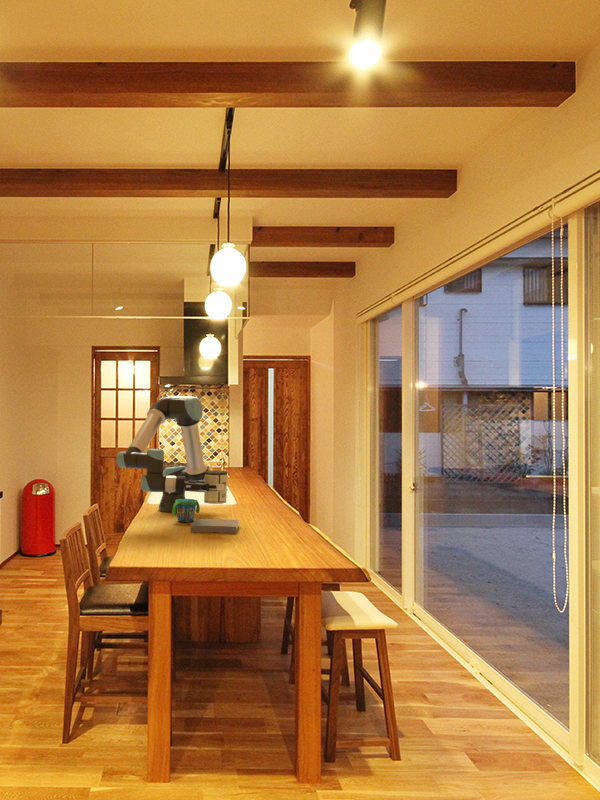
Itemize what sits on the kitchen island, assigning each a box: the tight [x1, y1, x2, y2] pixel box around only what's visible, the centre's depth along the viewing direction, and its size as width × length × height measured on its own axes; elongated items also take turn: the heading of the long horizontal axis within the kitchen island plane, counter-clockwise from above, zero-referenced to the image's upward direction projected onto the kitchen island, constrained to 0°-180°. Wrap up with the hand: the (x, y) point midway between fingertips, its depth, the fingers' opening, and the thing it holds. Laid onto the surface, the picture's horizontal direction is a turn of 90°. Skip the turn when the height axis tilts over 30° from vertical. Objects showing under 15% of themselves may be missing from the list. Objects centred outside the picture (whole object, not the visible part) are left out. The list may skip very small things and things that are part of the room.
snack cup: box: [171, 498, 201, 523], centre depth 321 cm, size 16×10×10 cm
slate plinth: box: [190, 518, 240, 534], centre depth 303 cm, size 18×20×3 cm
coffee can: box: [203, 469, 228, 505], centre depth 303 cm, size 10×10×14 cm
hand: (225, 485), depth 303 cm, fingers closed on coffee can, 10 cm apart
